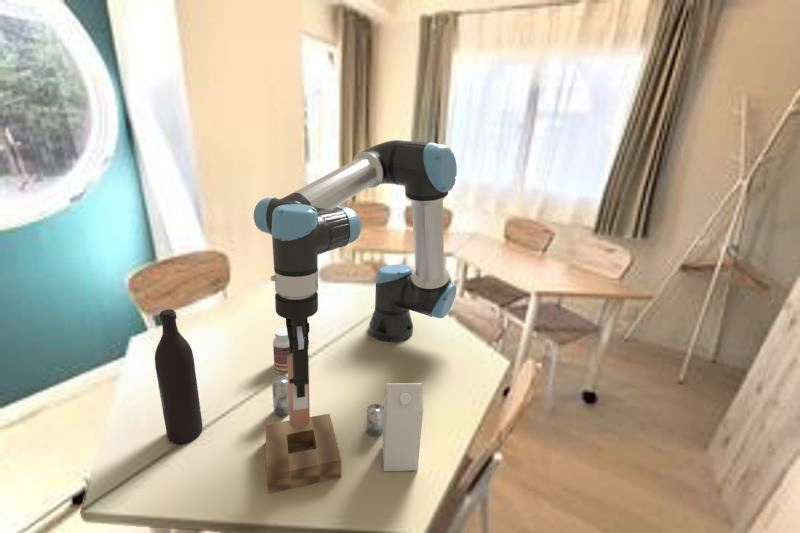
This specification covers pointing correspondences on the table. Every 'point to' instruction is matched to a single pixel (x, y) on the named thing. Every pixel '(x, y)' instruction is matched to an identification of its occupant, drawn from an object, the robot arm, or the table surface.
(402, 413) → the milk carton
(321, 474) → the hole block
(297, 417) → the long pin
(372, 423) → the short pin
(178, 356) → the wine bottle
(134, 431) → the table surface
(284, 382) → the medium pin
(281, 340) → the pill bottle
